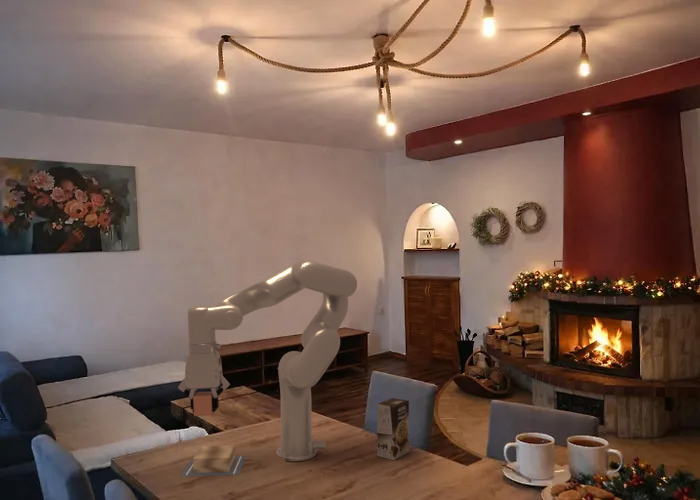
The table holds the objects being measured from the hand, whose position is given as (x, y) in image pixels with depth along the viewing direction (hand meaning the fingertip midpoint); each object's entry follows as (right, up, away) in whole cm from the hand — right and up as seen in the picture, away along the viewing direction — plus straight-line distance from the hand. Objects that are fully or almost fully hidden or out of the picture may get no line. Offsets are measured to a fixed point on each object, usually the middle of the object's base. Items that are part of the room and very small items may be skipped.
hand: (204, 410), depth 158 cm
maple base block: (+3, -16, -1) cm, 16 cm away
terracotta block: (0, -1, 0) cm, 1 cm away
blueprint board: (+3, -17, -1) cm, 17 cm away
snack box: (+56, -17, +10) cm, 59 cm away
